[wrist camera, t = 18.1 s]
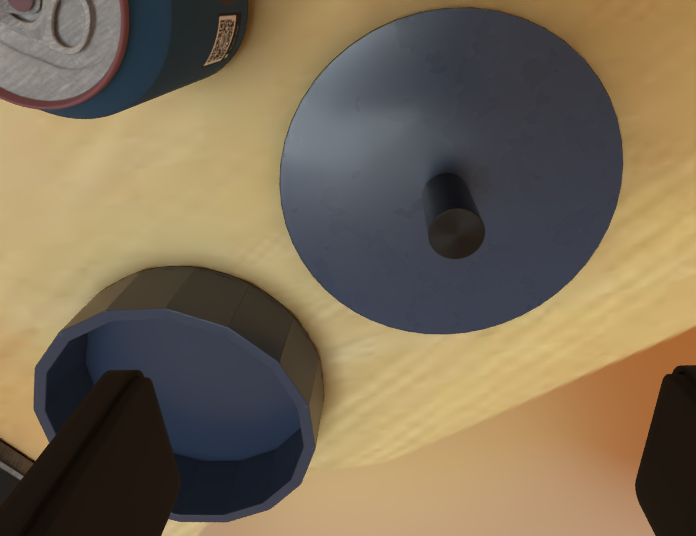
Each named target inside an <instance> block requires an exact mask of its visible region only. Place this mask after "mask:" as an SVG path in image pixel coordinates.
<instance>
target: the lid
mask: <svg viewBox="0 0 696 536" xmlns="http://www.w3.org/2000/svg"><path fill="white" fill-rule="evenodd" d="M622 170H623V151H622V139H621V134H620V129H619V124H618V119H617V116H616V114H615V111H614V108H613V105H612V103H611V100H610V97H609V95H608V94H607V92H606V90H605V88H604V87H603V85H602V83H601V81H600V79H599V78H598V76H597V75H596V74H595V72H594V71H593V70H592V69H591V67H590V66H589V65H588V63H587V62H586V61H585V60H584V58H583V57H581V56H580V55H579V54H578V53H577V52H576V51H575V50H574V49H573V48H572V47H571V46H569V45H568V44H567V43H566V42H565V41H564V40H562V39H560V38H559V37H557V36H556V35H554V34H553V33H551V32H550V31H548V30H547V29H545V28H543V27H541V26H539V25H537V24H535V23H532V22H530V21H528V20H526V19H524V18H521V17H518V16H514V15H511V14H507V13H503V12H500V11H495V10H487V9H479V8H442V9H436V10H430V11H424V12H419V13H416V14H412V15H409V16H406V17H403V18H400V19H397V20H394V21H392V22H390V23H388V24H385V25H383V26H381V27H379V28H377V29H375V30H373V31H371V32H369V33H368V34H366V35H365V36H363V37H362V38H360V39H359V40H357V41H356V42H354V43H353V44H351V45H350V46H349V47H347V48H346V49H345V50H344V51H343V52H342V53H341V54H339V55H338V56H337V57H336V58H335V59H334V60H332V61H331V62H330V64H329V65H328V66H327V67H326V68H325V69H324V70H323V71H322V73H321V74H320V75H319V76H318V77H317V78H316V79H315V81H314V82H313V84H312V85H311V87H310V88H309V90H308V91H307V93H306V94H305V96H304V97H303V99H302V100H301V102H300V104H299V106H298V109H297V111H296V113H295V115H294V117H293V119H292V121H291V124H290V127H289V130H288V133H287V136H286V139H285V142H284V148H283V153H282V158H281V165H280V195H281V206H282V210H283V215H284V219H285V224H286V227H287V229H288V232H289V235H290V237H291V240H292V243H293V245H294V247H295V249H296V250H297V252H298V254H299V256H300V258H301V260H302V261H303V263H304V264H305V266H306V267H307V268H308V270H309V271H310V273H311V274H312V275H313V277H314V278H315V279H316V280H317V281H318V282H319V283H320V284H321V285H322V287H323V288H324V289H325V290H326V291H328V292H329V293H330V294H331V295H332V296H333V297H335V298H336V299H337V300H338V301H339V302H341V303H342V304H344V305H345V306H347V307H348V308H350V309H351V310H353V311H354V312H356V313H358V314H360V315H362V316H364V317H366V318H368V319H370V320H372V321H375V322H377V323H380V324H383V325H385V326H388V327H392V328H396V329H400V330H404V331H408V332H416V333H423V334H456V333H466V332H471V331H477V330H482V329H486V328H489V327H493V326H496V325H499V324H503V323H505V322H507V321H510V320H512V319H515V318H517V317H519V316H522V315H523V314H525V313H527V312H529V311H531V310H532V309H534V308H536V307H538V306H540V305H541V304H542V303H544V302H545V301H547V300H548V299H549V298H551V297H552V296H554V295H555V294H556V293H558V292H559V291H560V290H561V289H562V288H563V287H564V286H565V285H567V284H568V283H569V282H570V281H571V280H572V279H573V278H574V277H575V276H576V275H577V274H578V272H579V271H580V270H581V269H582V268H583V267H584V266H585V265H586V263H587V262H588V260H589V259H590V258H591V256H592V255H593V253H594V252H595V250H596V249H597V248H598V246H599V244H600V242H601V240H602V239H603V237H604V235H605V233H606V231H607V229H608V227H609V225H610V222H611V219H612V217H613V214H614V211H615V209H616V205H617V201H618V197H619V192H620V188H621V181H622Z"/></svg>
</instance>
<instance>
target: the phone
mask: <svg viewBox="0 0 696 536" xmlns="http://www.w3.org/2000/svg"><path fill="white" fill-rule="evenodd" d="M33 464H34V463H33V462H31V461H30V460H28V459H27V458H25V457H24V456H22V455H20V454H19V453H17V452H16V451H14V450H13V449H11V448H10V447H8V446H7V445H5V444H4V443H2V442H1V441H0V506H1V505H2V504H3V502H4V501H5V500H6V499H7V497H8V496H9V495H10V493H11V492H12V491H13V489H14V488H15V487H16V486H17V484H18V483H19V482H20V480H21V479H22V478H23V477H24V475H25V474H26V473H27V471H28V470H29V469H30V468H31V466H32V465H33Z"/></svg>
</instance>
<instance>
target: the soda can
mask: <svg viewBox="0 0 696 536" xmlns="http://www.w3.org/2000/svg"><path fill="white" fill-rule="evenodd" d="M247 17H248V0H0V98H1V99H3V100H5V101H8V102H10V103H13V104H16V105H20V106H23V107H28V108H33V109H39V110H42V111H45V112H47V113H50V114H54V115H58V116H62V117H67V118H75V119H94V118H101V117H106V116H109V115H113V114H116V113H118V112H121V111H123V110H126V109H128V108H131V107H133V106H136V105H138V104H141V103H143V102H146V101H148V100H151V99H154V98H156V97H159V96H161V95H164V94H166V93H169V92H171V91H174V90H176V89H179V88H181V87H184V86H186V85H189V84H191V83H194V82H197V81H199V80H202V79H204V78H206V77H209V76H211V75H213V74H215V73H216V72H218V71H219V70H220V69H222V68H223V67H224V66H225V65H226V64H227V63H228V62H229V61H230V60H231V58H232V57H233V56H234V54H235V53H236V51H237V49H238V48H239V46H240V44H241V41H242V39H243V36H244V33H245V29H246V24H247Z"/></svg>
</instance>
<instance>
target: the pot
mask: <svg viewBox="0 0 696 536" xmlns="http://www.w3.org/2000/svg"><path fill="white" fill-rule="evenodd" d="M108 370H140V371H141V372H142V373H143V375H144V377H148V378H150V379H151V380H152V383H153V386H154V389H155V393H156V396H157V399H158V403H159V406H160V409H161V413H162V416H163V420H164V423H165V426H166V430H167V433H168V436H169V440H170V443H171V447H172V450H173V453H174V457H175V460H176V463H177V467H178V470H179V474H180V479H181V484H180V491H179V494H178V497H177V500H176V502H175V504H174V507H173V509H172V511H171V514H170V516H169V518H168V519H171V520H175V521H178V522H230V521H233V520H236V519H240V518H243V517H246V516H250V515H253V514H256V513H259V512H263V511H267V510H269V509H271V508H272V507H274V506H275V505H276V504H277V503H279V502H280V501H281V500H282V499H283V498H285V497H286V496H287V495H288V494H290V493H291V492H292V491H293V490H295V489H296V488H297V487H298V486H299V485H300V484H301V483H302V481H303V478H304V476H305V473H306V471H307V468H308V466H309V463H310V461H311V458H312V456H313V453H314V451H315V448H316V442H317V436H318V430H319V424H320V418H321V412H322V406H323V401H324V391H323V375H322V369H321V364H320V360H319V357H318V355H317V352H316V349H315V347H314V345H313V343H312V341H311V339H310V338H309V336H308V334H307V332H306V331H305V330H304V328H303V327H302V326H301V324H300V323H299V322H298V320H297V319H296V318H295V317H294V316H293V315H292V314H291V313H290V312H289V311H288V310H287V309H286V308H285V307H284V306H283V305H281V304H280V303H279V302H278V301H276V300H275V299H274V298H273V297H271V296H270V295H268V294H267V293H265V292H264V291H262V290H260V289H259V288H257V287H255V286H253V285H251V284H249V283H247V282H245V281H243V280H241V279H238V278H236V277H233V276H230V275H228V274H225V273H221V272H217V271H213V270H209V269H204V268H196V267H184V266H170V267H160V268H153V269H149V270H145V271H141V272H137V273H135V274H132V275H130V276H127V277H125V278H123V279H121V280H120V281H118V282H116V283H114V284H113V285H111V286H110V287H108V288H106V289H104V290H102V291H100V292H99V293H98V294H97V295H96V296H95V297H94V298H93V299H92V300H91V301H90V302H89V303H88V304H87V305H86V306H85V307H84V308H83V309H82V310H81V311H80V312H79V313H78V314H77V315H76V316H75V317H74V318H73V319H72V320H71V321H70V322H69V323H68V324H67V325H66V326H65V327H64V328H63V329H62V330H61V331H60V332H59V333H58V335H57V336H56V338H55V339H54V340H53V342H52V343H51V345H50V346H49V348H48V349H47V351H46V352H45V353H44V355H43V356H42V358H41V359H40V361H39V362H38V364H37V365H36V367H35V379H34V411H35V413H36V416H37V418H38V420H39V422H40V424H41V426H42V428H43V430H44V432H45V435H46V437H47V439H48V441H49V443H50V442H51V441H52V439H53V438H54V437H55V435H56V434H57V433H58V432H59V430H60V429H61V428H62V426H63V425H64V424H65V423H66V421H67V420H68V419H69V417H70V416H71V415H72V414H73V412H74V411H75V410H76V408H77V407H78V406H79V405H80V403H81V402H82V401H83V399H84V398H85V397H86V396H87V394H88V393H89V392H90V390H91V389H92V388H93V387H94V385H95V384H96V383H97V381H98V380H99V379H100V377H101V376H102V375H103V374H104V373H105V372H106V371H108Z"/></svg>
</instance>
